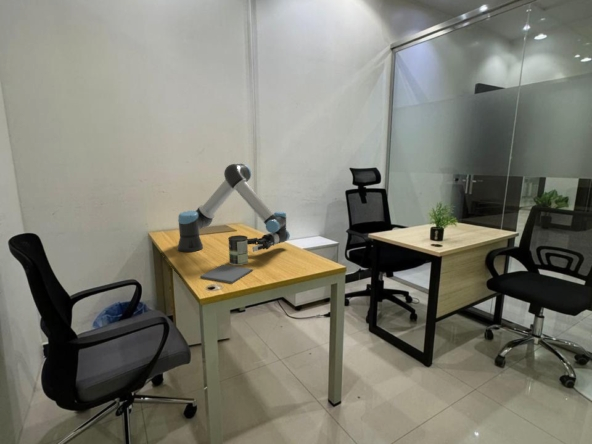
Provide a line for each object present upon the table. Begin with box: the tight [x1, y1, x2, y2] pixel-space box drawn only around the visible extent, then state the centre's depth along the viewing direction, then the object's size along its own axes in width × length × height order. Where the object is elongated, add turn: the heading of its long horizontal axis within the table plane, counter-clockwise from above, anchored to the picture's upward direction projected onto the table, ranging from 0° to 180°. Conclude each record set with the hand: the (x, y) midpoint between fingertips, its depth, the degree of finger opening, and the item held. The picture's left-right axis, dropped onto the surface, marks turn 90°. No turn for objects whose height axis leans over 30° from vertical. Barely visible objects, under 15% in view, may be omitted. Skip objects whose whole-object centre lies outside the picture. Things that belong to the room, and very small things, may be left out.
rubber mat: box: [200, 264, 254, 284], centre depth 153 cm, size 18×18×1 cm
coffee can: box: [227, 234, 249, 266], centre depth 170 cm, size 10×10×14 cm
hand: (244, 247), depth 173 cm, fingers open, 13 cm apart
